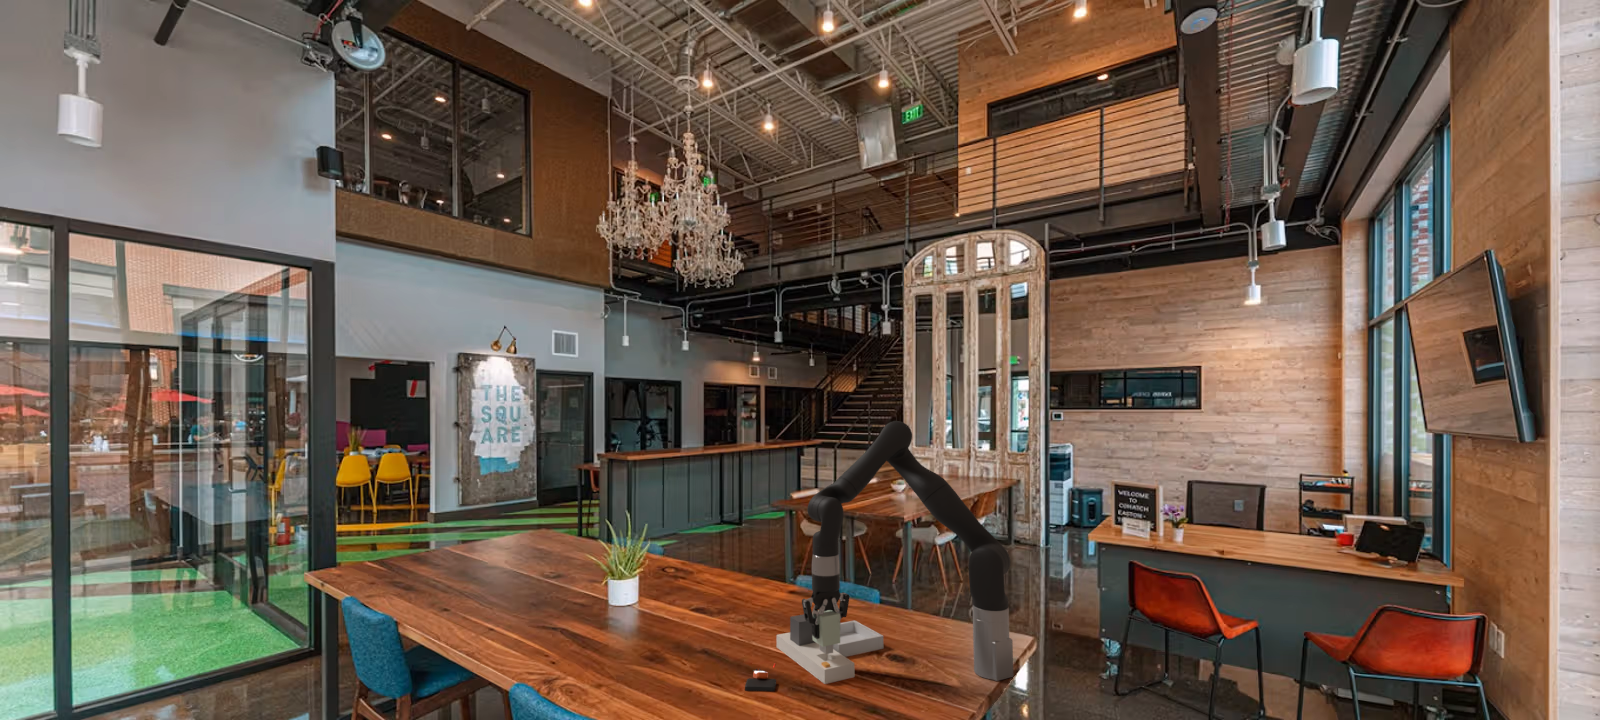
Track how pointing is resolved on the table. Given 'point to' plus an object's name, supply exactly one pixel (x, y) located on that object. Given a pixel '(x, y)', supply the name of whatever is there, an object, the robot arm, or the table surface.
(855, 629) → the tray
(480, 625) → the table surface
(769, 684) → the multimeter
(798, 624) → the block
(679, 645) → the table surface
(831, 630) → the block
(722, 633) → the table surface
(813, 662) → the flat gray board
